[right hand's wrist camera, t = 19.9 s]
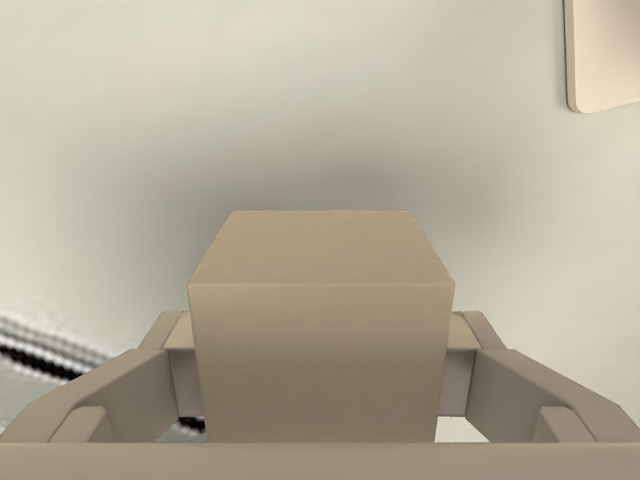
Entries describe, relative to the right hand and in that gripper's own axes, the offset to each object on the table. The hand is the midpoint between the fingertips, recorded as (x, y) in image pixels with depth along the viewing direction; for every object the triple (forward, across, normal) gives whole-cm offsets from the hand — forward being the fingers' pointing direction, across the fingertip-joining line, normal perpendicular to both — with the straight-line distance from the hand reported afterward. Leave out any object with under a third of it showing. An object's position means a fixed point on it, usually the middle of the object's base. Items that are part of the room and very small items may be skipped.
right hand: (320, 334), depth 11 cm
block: (+2, 0, 0) cm, 2 cm away
